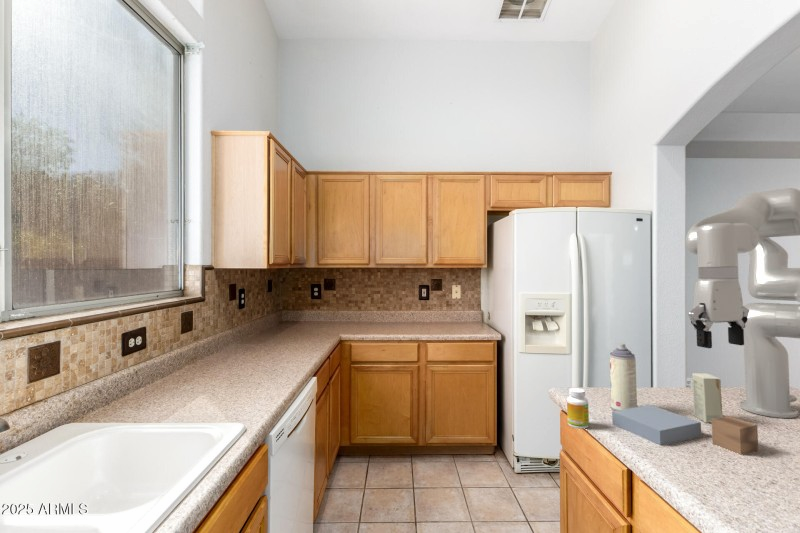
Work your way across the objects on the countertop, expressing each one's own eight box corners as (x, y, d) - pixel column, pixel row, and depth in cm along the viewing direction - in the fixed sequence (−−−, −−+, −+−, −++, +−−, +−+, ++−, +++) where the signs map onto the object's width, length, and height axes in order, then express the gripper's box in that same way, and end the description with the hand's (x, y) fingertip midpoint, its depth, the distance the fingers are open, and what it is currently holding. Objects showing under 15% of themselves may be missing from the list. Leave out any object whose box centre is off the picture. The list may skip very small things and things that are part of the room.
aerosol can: (618, 404, 123) (616, 341, 124) (641, 410, 118) (639, 344, 118) (606, 409, 120) (604, 343, 120) (630, 415, 114) (627, 347, 114)
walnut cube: (729, 440, 97) (728, 416, 97) (758, 450, 91) (757, 425, 91) (712, 444, 95) (711, 419, 95) (740, 455, 89) (739, 428, 89)
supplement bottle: (588, 430, 104) (587, 394, 105) (566, 427, 107) (565, 391, 107) (589, 423, 109) (588, 388, 109) (568, 420, 112) (567, 386, 112)
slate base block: (650, 418, 112) (650, 404, 113) (701, 438, 99) (700, 422, 99) (612, 425, 108) (612, 411, 108) (660, 447, 95) (659, 430, 95)
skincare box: (723, 424, 106) (722, 378, 106) (705, 423, 107) (703, 378, 107) (710, 415, 113) (708, 372, 113) (693, 414, 114) (691, 372, 114)
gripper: (729, 273, 100) (732, 340, 100) (674, 275, 96) (677, 345, 96) (762, 273, 93) (765, 346, 92) (704, 275, 89) (707, 351, 88)
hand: (720, 345), depth 94 cm, fingers open, 9 cm apart
